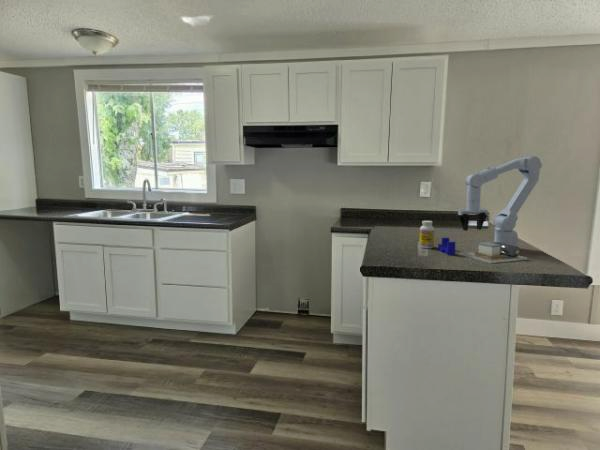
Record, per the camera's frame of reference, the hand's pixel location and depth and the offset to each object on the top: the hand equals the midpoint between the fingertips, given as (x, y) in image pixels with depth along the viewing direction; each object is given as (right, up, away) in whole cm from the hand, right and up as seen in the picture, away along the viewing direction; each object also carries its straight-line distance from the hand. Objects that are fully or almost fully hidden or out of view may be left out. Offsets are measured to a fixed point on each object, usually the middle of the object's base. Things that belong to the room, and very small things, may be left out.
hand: (472, 229), depth 185 cm
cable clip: (-13, -11, -4) cm, 17 cm away
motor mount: (+3, -12, -15) cm, 20 cm away
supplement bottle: (-19, -9, +8) cm, 22 cm away
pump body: (0, -11, -16) cm, 19 cm away
